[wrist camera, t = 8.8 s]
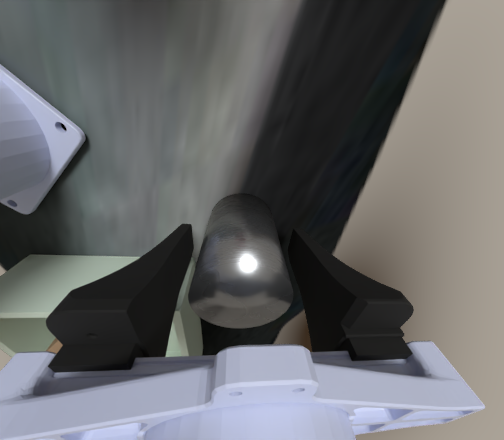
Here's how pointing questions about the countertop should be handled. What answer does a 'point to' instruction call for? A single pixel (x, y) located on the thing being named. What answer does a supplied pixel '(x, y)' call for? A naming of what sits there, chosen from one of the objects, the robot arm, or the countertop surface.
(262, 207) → the grey metal cylinder
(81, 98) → the countertop surface
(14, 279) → the green tote
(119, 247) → the countertop surface
